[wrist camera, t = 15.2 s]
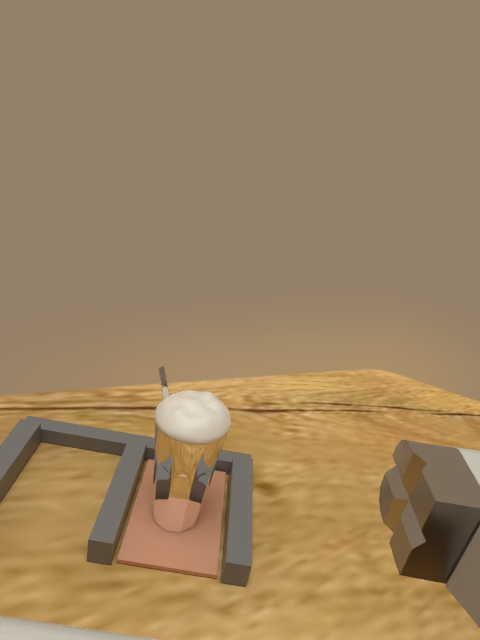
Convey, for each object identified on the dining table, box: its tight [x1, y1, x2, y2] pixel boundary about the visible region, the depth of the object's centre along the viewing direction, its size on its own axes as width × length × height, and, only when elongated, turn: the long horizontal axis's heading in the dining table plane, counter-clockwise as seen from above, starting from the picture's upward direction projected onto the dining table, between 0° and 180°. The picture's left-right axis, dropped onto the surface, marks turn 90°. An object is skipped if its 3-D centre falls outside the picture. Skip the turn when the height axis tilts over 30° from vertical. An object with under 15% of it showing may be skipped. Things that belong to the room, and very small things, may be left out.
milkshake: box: [152, 366, 230, 532], centre depth 29 cm, size 4×5×10 cm
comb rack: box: [0, 416, 253, 586], centre depth 31 cm, size 18×10×2 cm, turn 88°
